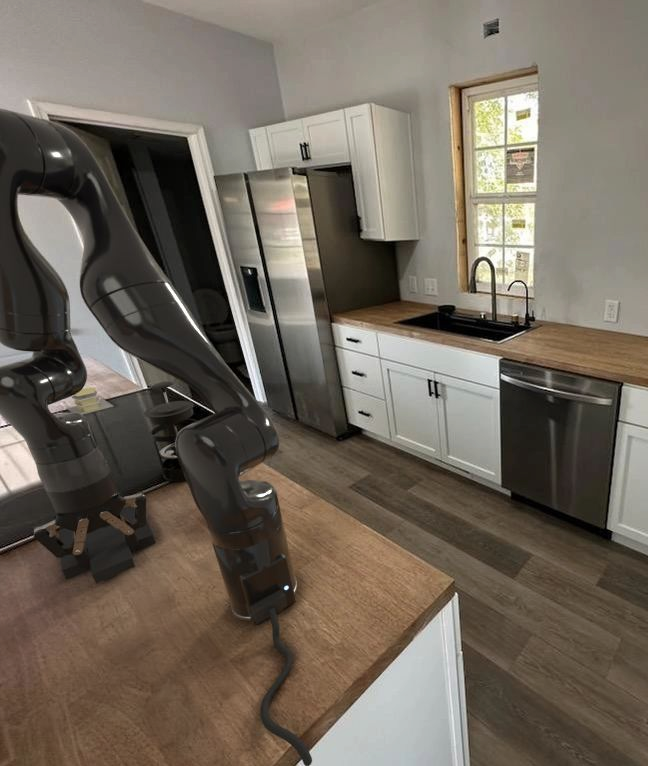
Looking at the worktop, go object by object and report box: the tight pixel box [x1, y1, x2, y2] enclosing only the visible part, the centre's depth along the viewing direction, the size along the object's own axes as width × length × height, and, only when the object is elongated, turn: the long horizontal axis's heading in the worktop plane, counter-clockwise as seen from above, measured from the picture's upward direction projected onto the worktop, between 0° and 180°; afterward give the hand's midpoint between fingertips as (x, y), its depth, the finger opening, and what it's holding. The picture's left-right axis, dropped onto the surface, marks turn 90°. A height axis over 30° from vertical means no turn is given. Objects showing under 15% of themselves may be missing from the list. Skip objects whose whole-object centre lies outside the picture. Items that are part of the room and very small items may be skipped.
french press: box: [143, 381, 198, 483], centre depth 96 cm, size 12×9×23 cm
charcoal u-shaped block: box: [57, 505, 157, 580], centre depth 78 cm, size 14×12×2 cm
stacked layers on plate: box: [66, 386, 115, 416], centre depth 131 cm, size 10×9×6 cm
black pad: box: [87, 531, 136, 584], centre depth 72 cm, size 10×5×2 cm, turn 47°
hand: (111, 557), depth 73 cm, fingers closed on black pad, 5 cm apart
